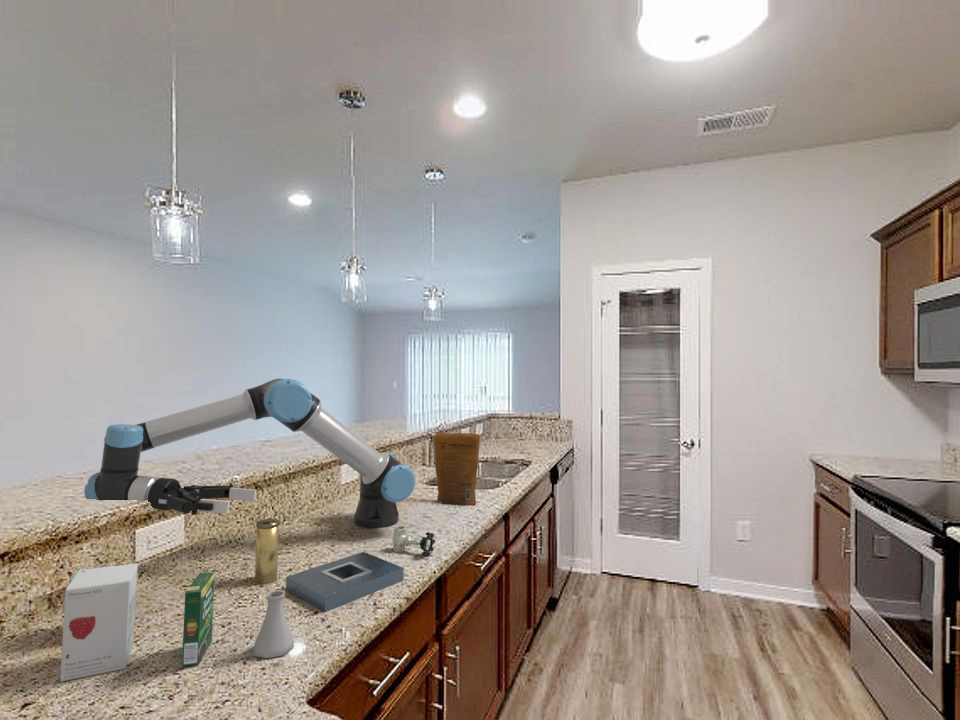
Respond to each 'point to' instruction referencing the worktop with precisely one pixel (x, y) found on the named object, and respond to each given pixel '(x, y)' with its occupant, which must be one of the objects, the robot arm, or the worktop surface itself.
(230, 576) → the worktop surface
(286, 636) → the flask
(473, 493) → the pancake mix bag
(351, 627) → the worktop surface
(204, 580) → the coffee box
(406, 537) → the valve
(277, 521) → the brass bushing
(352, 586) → the plate
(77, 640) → the supplement box
